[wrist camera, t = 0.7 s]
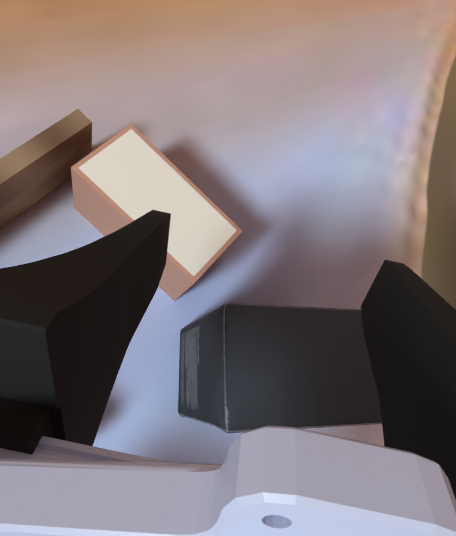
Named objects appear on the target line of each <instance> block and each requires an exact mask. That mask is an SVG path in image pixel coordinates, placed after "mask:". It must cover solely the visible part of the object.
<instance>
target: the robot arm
mask: <svg viewBox="0 0 456 536" xmlns="http://www.w3.org/2000/svg"><path fill="white" fill-rule="evenodd" d="M170 219H171V213H166V212H161V211H157V210H151V211H150V212H148V213H146V214H144V215H143V216H141V217H139V218H138V219H136V220H134V221H133V222H131V223H129V224H127V225H126V226H124V227H122V228H120V229H119V230H117V231H115V232H113V233H111V234H109V235H107V236H105V237H103V238H101V239H99V240H97V241H95V242H92V243H90V244H88V245H85V246H83V247H81V248H78V249H75V250H72V251H70V252H67V253H64V254H61V255H57V256H54V257H50V258H46V259H43V260H39V261H36V262H32V263H27V264H23V265H18V266H13V267H8V268H2V269H0V536H456V310H455V309H454V308H453V307H452V306H451V305H450V304H449V303H447V302H446V301H445V300H444V299H443V298H442V297H441V296H440V295H439V294H438V293H436V292H435V291H434V290H433V289H432V288H431V287H430V286H429V285H428V284H427V283H426V282H424V281H423V280H422V279H421V278H420V277H419V276H418V275H417V274H416V273H414V272H413V271H412V270H411V269H410V268H408V267H407V266H406V265H404V264H402V263H398V262H393V261H388V260H385V261H384V263H383V265H382V266H381V268H380V270H379V272H378V274H377V276H376V278H375V280H374V282H373V284H372V286H371V288H370V290H369V291H368V293H367V295H366V297H365V299H364V301H363V303H362V305H361V312H362V325H363V333H364V338H365V342H366V346H367V350H368V354H369V358H370V362H371V366H372V371H373V375H374V379H375V383H376V387H377V391H378V396H379V402H380V409H381V417H382V426H383V435H384V446H385V447H384V446H380V445H375V444H370V443H366V442H361V441H356V440H351V439H347V438H342V437H337V436H333V435H328V434H323V433H318V432H314V431H309V430H304V429H300V428H295V427H282V426H264V427H261V428H257V429H253V430H250V431H246V432H244V433H243V434H241V435H240V436H239V437H238V438H237V439H236V440H235V441H234V443H233V444H232V445H231V446H230V447H229V450H228V453H227V456H226V458H225V461H224V463H223V464H190V463H169V462H164V461H159V460H155V459H150V458H145V457H140V456H136V455H131V454H126V453H121V452H117V451H112V450H107V449H102V448H98V447H93V443H94V440H95V437H96V434H97V431H98V428H99V425H100V422H101V419H102V416H103V413H104V410H105V407H106V405H107V402H108V399H109V396H110V393H111V391H112V388H113V385H114V382H115V380H116V377H117V374H118V371H119V369H120V366H121V363H122V361H123V358H124V356H125V353H126V350H127V348H128V346H129V343H130V341H131V339H132V337H133V335H134V333H135V331H136V329H137V327H138V325H139V323H140V321H141V319H142V317H143V315H144V313H145V312H146V310H147V308H148V306H149V304H150V302H151V300H152V298H153V296H154V294H155V292H156V290H157V288H158V285H159V283H160V280H161V277H162V274H163V271H164V268H165V265H166V259H167V249H168V239H169V229H170Z"/></svg>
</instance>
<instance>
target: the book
mask: <svg viewBox="0 0 456 536" xmlns="http://www.w3.org/2000/svg"><path fill="white" fill-rule="evenodd" d="M71 175H72V187H73V198H74V208H75V209H76V210H77V211H78V212H79V213H80V214H81V215H83V216H84V217H85V218H86V219H87V220H88V221H89V222H90V223H91V224H92V225H93V226H94V227H95V228H97V229H98V230H99V231H100V232H101V233H102V234H103V235H104V236H107V235H109V234H111V233H113V232H115V231H117V230H119V229H120V228H122V227H124V226H126V225H127V224H129V223H131V222H133V221H134V220H136V219H138V218H139V217H141V216H143V215H144V214H146V213H148V212H150V211H151V210H157V211H161V212H166V213H171V219H170V229H169V239H168V249H167V259H166V265H165V268H164V271H163V274H162V277H161V280H160V283H159V285H158V286H159V287H160V288H161V289H162V290H163V291H164V292H165V293H166V294H168V295H169V296H170V297H171V298H172V299H173V300H174V301H175V300H176V299H177V298H178V297H180V296H181V295H182V294H183V293H184V292H185V291H186V290H187V289H189V288H190V287H191V286H192V285H193V284H194V283H195V282H196V281H197V280H198V279H199V278H200V277H201V276H202V275H203V273H204V272H205V271H206V270H207V269H208V268H209V267H210V266H211V265H212V264H213V263H214V262H215V260H216V259H217V258H218V257H219V256H220V255H221V254H222V253H223V252H224V251H225V250H226V249H227V247H228V246H229V245H230V244H231V243H232V242H233V241H234V240H235V239H236V238H237V237H238V236H239V235H240V233H241V232H242V230H241V229H240V228H239V227H238V226H237V225H236V224H235V223H234V222H233V221H232V220H231V219H230V218H229V217H228V216H227V215H226V214H225V213H224V212H222V211H221V210H220V209H219V208H218V207H217V206H216V205H215V204H214V203H213V202H212V201H211V200H210V199H209V198H208V197H207V196H206V195H205V194H204V193H203V192H202V191H201V190H200V189H199V188H198V187H197V186H195V185H194V184H193V183H192V182H191V181H190V180H189V179H188V178H187V177H186V176H185V175H184V174H183V173H182V172H181V171H180V170H179V169H178V168H177V167H176V166H175V165H174V164H173V163H172V162H171V161H170V160H168V159H167V158H166V157H165V156H164V155H163V154H162V153H161V152H160V151H159V150H158V149H157V148H156V147H155V146H154V145H153V144H152V143H151V142H150V141H149V140H148V139H147V138H146V137H145V136H144V135H143V134H141V133H140V132H139V131H138V130H137V129H136V128H135V127H134V126H133V125H132V124H130V125H129V126H127V127H126V128H124V129H123V130H122V131H120V132H119V133H117V134H116V135H115V136H113V137H112V138H111V139H109V140H108V141H106V142H105V143H104V144H102V145H101V146H100V147H98V148H97V149H95V150H94V151H93V152H91V153H90V154H89V155H87V156H86V157H84V158H83V159H82V160H80V161H79V162H78V163H76V164H75V165H73V166H72V167H71Z"/></svg>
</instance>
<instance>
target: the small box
mask: <svg viewBox="0 0 456 536" xmlns="http://www.w3.org/2000/svg"><path fill="white" fill-rule="evenodd" d="M178 412H179V415H180V416H182V417H188V418H191V419H195V420H199V421H201V422H204V423H208V424H210V425H213V426H216V427H217V428H219V429H222V430H223V431H225V432H227V433H239V432H246V431H250V430H253V429H257V428H261V427H264V426H282V427H295V428H300V429H305V428H322V427H338V426H350V425H370V424H382V417H381V409H380V402H379V396H378V391H377V387H376V383H375V379H374V375H373V371H372V366H371V362H370V358H369V354H368V350H367V346H366V342H365V338H364V333H363V325H362V312H361V310H356V309H335V308H314V307H295V306H277V305H259V304H243V303H225V304H224V305H222V306H221V307H219V308H217V309H216V310H214V311H212V312H211V313H209V314H207V315H206V316H204V317H202V318H201V319H199V320H197V321H195V322H194V323H192V324H190V325H188V326H186V327H185V328H183V329H181V333H180V361H179V402H178Z"/></svg>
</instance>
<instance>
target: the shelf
mask: <svg viewBox="0 0 456 536" xmlns="http://www.w3.org/2000/svg"><path fill="white" fill-rule="evenodd" d="M91 149H92V122H91V121H90V120H89V119H88V118H87V117H86V116H85V115H84V114H83V113H82V112H81V111H80V110H79V109H77V110H75V111H74V112H72V113H71V114H69V115H68V116H66V117H65V118H63V119H61V120H60V121H58V122H57V123H55V124H54V125H52V126H51V127H49V128H47V129H46V130H44V131H43V132H41V133H40V134H38V135H37V136H35V137H34V138H32V139H30V140H29V141H27V142H26V143H24V144H23V145H21V146H20V147H18V148H16V149H15V150H13V151H12V152H10V153H9V154H7V155H6V156H4V157H2V158H1V159H0V229H1V228H3V227H4V226H5V225H7V224H8V223H9V222H11V221H12V220H13V219H15V218H16V217H18V216H19V215H20V214H22V213H23V212H24V211H26V210H27V209H28V208H30V207H31V206H33V205H34V204H35V203H37V202H38V201H39V200H41V199H42V198H43V197H45V196H46V195H47V194H49V193H50V192H52V191H53V190H54V189H56V188H57V187H58V186H60V185H61V184H62V183H64V182H65V181H67V180H68V179H69V178H71V177H72V175H71V167H72V166H73V165H75V164H76V163H78V162H79V161H80V160H82V159H83V158H84V157H86V156H87V155H89V154H90V153H91Z"/></svg>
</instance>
